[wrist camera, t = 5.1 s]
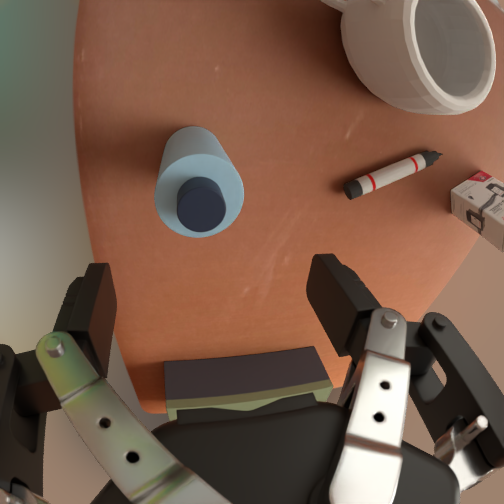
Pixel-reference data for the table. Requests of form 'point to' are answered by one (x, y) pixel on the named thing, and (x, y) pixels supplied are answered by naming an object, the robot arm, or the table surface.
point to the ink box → (481, 206)
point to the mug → (420, 52)
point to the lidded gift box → (244, 380)
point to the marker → (389, 174)
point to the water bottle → (197, 184)
